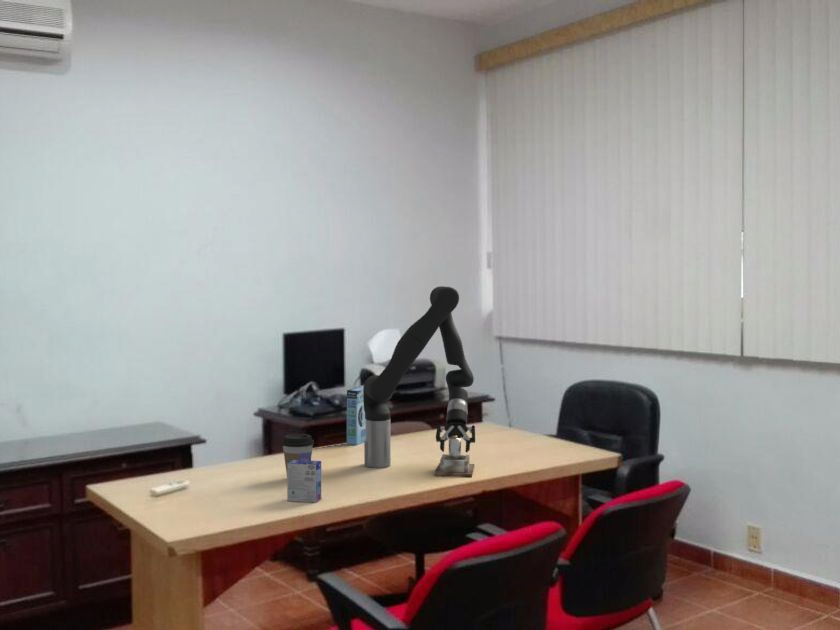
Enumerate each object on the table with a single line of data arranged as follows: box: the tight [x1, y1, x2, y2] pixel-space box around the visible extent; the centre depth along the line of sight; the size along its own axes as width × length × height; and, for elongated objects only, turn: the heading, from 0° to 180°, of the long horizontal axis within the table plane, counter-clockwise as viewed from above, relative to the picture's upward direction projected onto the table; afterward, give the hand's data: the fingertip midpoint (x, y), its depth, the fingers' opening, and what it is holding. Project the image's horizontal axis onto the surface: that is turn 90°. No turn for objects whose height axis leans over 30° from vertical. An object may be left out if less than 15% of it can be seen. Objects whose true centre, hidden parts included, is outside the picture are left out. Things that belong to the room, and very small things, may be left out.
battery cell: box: [448, 435, 462, 460], centre depth 308 cm, size 4×4×12 cm
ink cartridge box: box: [286, 453, 322, 503], centre depth 270 cm, size 10×6×14 cm, turn 78°
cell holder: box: [434, 453, 475, 478], centre depth 308 cm, size 13×16×5 cm
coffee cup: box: [281, 433, 315, 474], centre depth 297 cm, size 11×11×15 cm
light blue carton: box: [346, 384, 366, 446], centre depth 364 cm, size 20×5×23 cm, turn 161°
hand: (454, 450), depth 307 cm, fingers open, 8 cm apart
